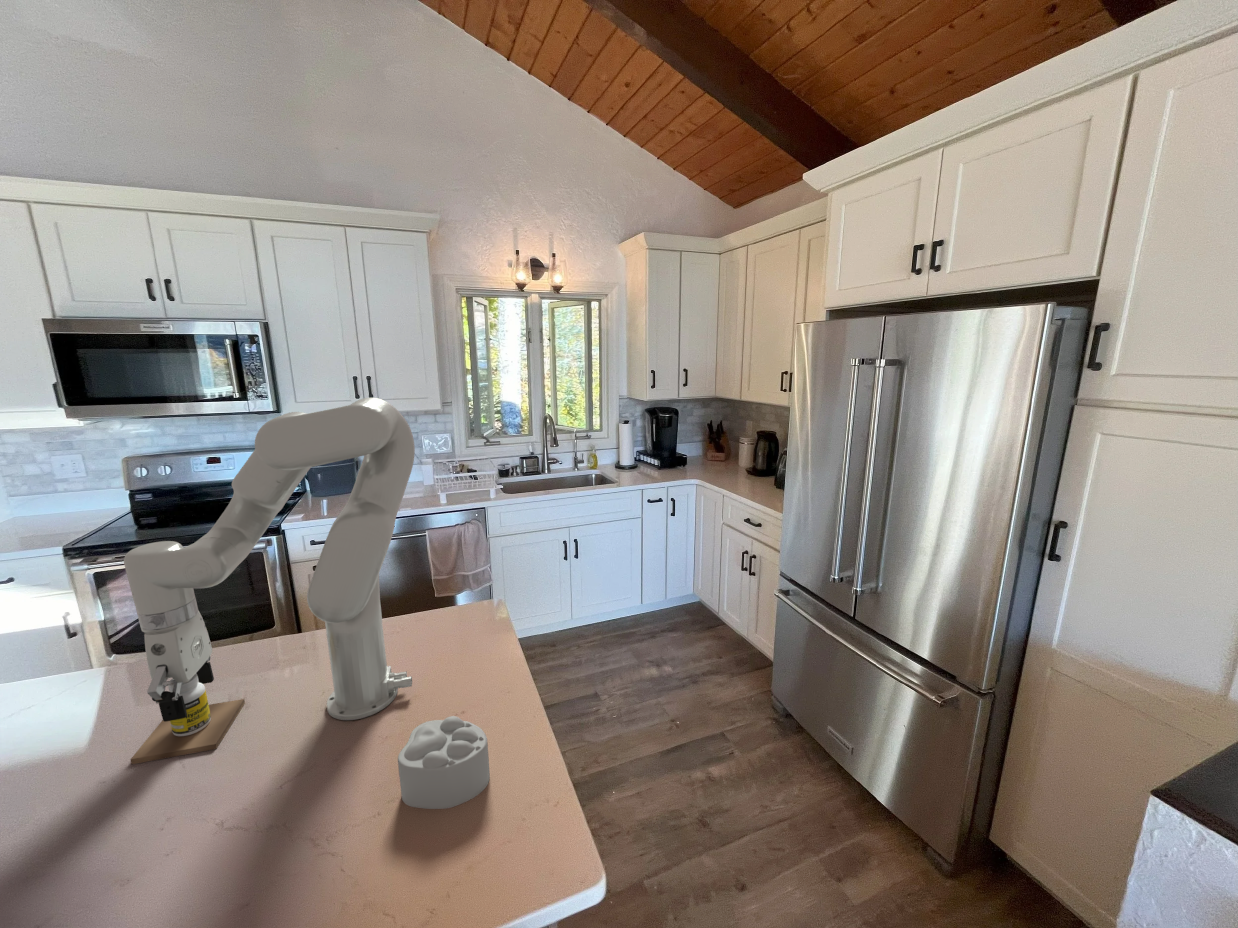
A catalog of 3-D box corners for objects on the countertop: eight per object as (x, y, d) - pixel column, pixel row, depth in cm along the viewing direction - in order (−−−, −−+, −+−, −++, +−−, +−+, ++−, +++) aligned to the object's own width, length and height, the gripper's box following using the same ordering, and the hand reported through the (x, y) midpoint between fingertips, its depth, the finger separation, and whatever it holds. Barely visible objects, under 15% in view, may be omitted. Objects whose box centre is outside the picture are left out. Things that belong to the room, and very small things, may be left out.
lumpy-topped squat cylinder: (422, 754, 86) (418, 710, 84) (497, 755, 86) (494, 712, 84) (394, 807, 76) (389, 759, 74) (479, 810, 76) (476, 761, 74)
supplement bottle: (189, 739, 88) (178, 691, 85) (164, 735, 89) (153, 686, 86) (219, 717, 93) (209, 671, 91) (195, 713, 94) (185, 667, 92)
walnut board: (245, 703, 98) (244, 698, 98) (216, 748, 87) (215, 743, 87) (171, 715, 95) (170, 710, 95) (131, 764, 84) (130, 759, 83)
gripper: (167, 636, 79) (190, 729, 83) (218, 587, 95) (235, 667, 99) (108, 645, 77) (135, 739, 81) (170, 593, 93) (190, 674, 97)
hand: (190, 699), depth 90 cm, fingers open, 9 cm apart
